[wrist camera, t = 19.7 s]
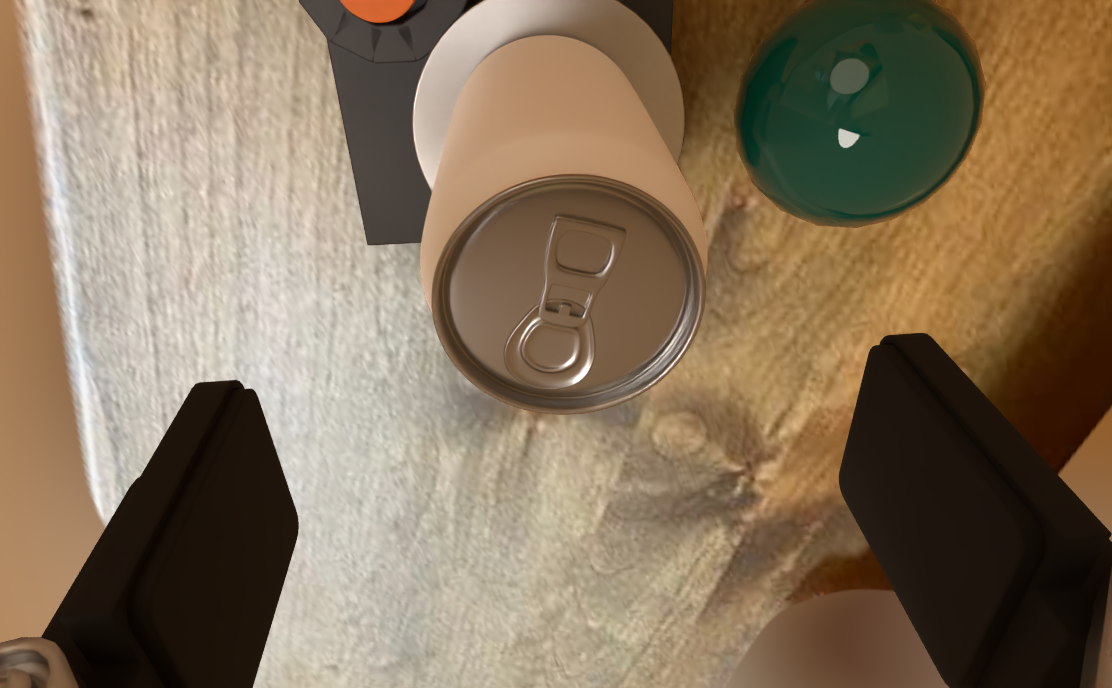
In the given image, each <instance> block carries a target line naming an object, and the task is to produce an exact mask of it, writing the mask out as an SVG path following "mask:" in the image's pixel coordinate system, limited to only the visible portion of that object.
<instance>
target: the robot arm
mask: <svg viewBox="0 0 1112 688" xmlns="http://www.w3.org/2000/svg"><path fill="white" fill-rule="evenodd" d="M839 485H840V490H841V493H842V495H843V498H844V500H845V501H846V503H847V505H848V507H849V509H850V511H851V512H852V514H853V516H854V518H855V520H856V522H857V523H858V525H859V527H860V529H861V531H862V533H863V534H864V536H865V538H866V540H867V542H868V544H869V545H870V547H871V549H872V551H873V553H874V555H875V556H876V558H877V560H878V562H879V564H880V566H881V567H882V569H883V571H884V573H885V575H886V577H887V578H888V580H889V582H890V584H891V586H892V588H893V589H894V591H895V593H896V595H897V597H898V598H899V600H900V602H901V604H902V606H903V607H904V609H905V611H906V613H907V615H908V617H909V619H910V620H911V622H912V624H913V626H914V628H915V630H916V631H917V633H918V635H919V637H920V639H921V641H922V642H923V644H924V646H925V648H926V650H927V651H928V653H929V655H930V657H931V659H932V661H933V663H934V664H935V666H936V668H937V670H938V672H939V674H940V675H941V677H942V679H943V680H944V682H945V683H946V684H947V685H948V686H949V687H950V688H1112V542H1111V541H1110V540H1109V538H1110V536H1111V532H1110V531H1109V530H1108V529H1107V528H1106V527H1105V526H1104V525H1103V524H1102V523H1101V522H1100V520H1099V519H1098V518H1097V517H1096V516H1095V515H1094V514H1093V513H1092V512H1091V511H1090V510H1089V509H1088V507H1087V506H1086V505H1085V504H1084V503H1083V502H1082V501H1081V500H1080V499H1079V498H1078V497H1077V495H1076V494H1075V493H1074V492H1073V491H1072V490H1071V489H1070V488H1069V487H1068V486H1067V485H1066V483H1065V482H1064V481H1063V480H1062V479H1061V478H1060V477H1059V476H1058V475H1057V474H1056V472H1055V471H1054V470H1053V469H1052V468H1051V467H1050V466H1049V465H1048V464H1047V463H1046V462H1045V460H1044V459H1043V458H1042V457H1041V456H1040V455H1039V454H1038V453H1037V452H1036V451H1035V450H1034V448H1033V447H1032V446H1031V445H1030V444H1029V443H1028V442H1027V441H1026V440H1025V439H1024V438H1023V436H1022V435H1021V434H1020V433H1019V432H1018V431H1017V430H1016V429H1015V428H1014V427H1013V426H1012V424H1011V423H1010V422H1009V421H1008V420H1007V419H1006V418H1005V417H1004V416H1003V415H1002V414H1001V413H1000V411H999V410H998V409H997V408H996V407H995V406H994V405H993V404H992V403H991V402H990V401H989V399H988V398H987V397H986V396H985V395H984V394H983V393H982V392H981V391H980V390H979V389H978V387H977V386H976V385H975V384H974V383H973V382H972V381H971V380H970V379H969V378H968V377H967V375H966V374H965V373H964V372H963V371H962V370H961V369H960V368H959V367H958V366H957V365H956V363H955V362H954V361H953V360H952V359H951V358H950V357H949V356H948V355H947V354H946V353H945V351H944V350H943V349H942V348H941V347H940V346H939V345H938V344H937V343H936V342H935V341H934V339H933V338H932V337H930V336H929V335H928V334H925V333H913V334H899V335H888V336H885V337H884V338H883V339H882V340H881V342H880V345H875V346H873V347H872V348H871V349H870V352H869V354H868V358H867V362H866V366H865V370H864V374H863V379H862V383H861V387H860V391H859V395H858V399H857V403H856V407H855V411H854V415H853V419H852V423H851V427H850V431H849V435H848V439H847V443H846V447H845V451H844V456H843V460H842V464H841V468H840V472H839ZM298 529H299V522H298V515H297V512H296V509H295V506H294V503H293V500H292V497H291V494H290V491H289V488H288V485H287V482H286V479H285V476H284V473H283V470H282V467H281V464H280V461H279V458H278V455H277V452H276V449H275V446H274V443H273V440H272V437H271V434H270V432H269V429H268V426H267V423H266V420H265V417H264V414H263V411H262V408H261V405H260V402H259V399H258V396H257V394H256V392H255V391H254V390H253V389H244V386H243V385H242V384H241V382H240V381H237V380H230V381H215V382H200V383H197V384H195V385H194V387H193V388H192V389H191V391H190V393H189V394H188V396H187V398H186V399H185V401H184V403H183V405H182V406H181V408H180V410H179V411H178V413H177V415H176V417H175V418H174V420H173V422H172V423H171V425H170V427H169V428H168V430H167V432H166V434H165V435H164V437H163V439H162V440H161V442H160V444H159V446H158V447H157V449H156V451H155V452H154V454H153V456H152V458H151V459H150V461H149V463H148V464H147V466H146V468H145V469H144V471H143V473H142V475H141V476H140V477H139V478H137V479H136V480H135V482H134V483H133V484H132V485H131V487H130V488H129V490H128V491H127V493H126V495H125V496H124V498H123V500H122V501H121V503H120V505H119V507H118V508H117V510H116V512H115V513H114V515H113V517H112V518H111V520H110V522H109V523H108V525H107V527H106V528H105V530H104V532H103V534H102V535H101V537H100V539H99V540H98V542H97V544H96V545H95V547H94V549H93V550H92V552H91V554H90V556H89V557H88V559H87V561H86V562H85V564H84V566H83V567H82V569H81V571H80V572H79V574H78V576H77V577H76V579H75V581H74V583H73V584H72V586H71V588H70V589H69V591H68V593H67V594H66V596H65V598H64V600H63V601H62V603H61V604H60V606H59V608H58V610H57V611H56V613H55V615H54V616H53V618H52V620H51V621H50V623H49V625H48V627H47V628H46V630H45V632H44V633H43V635H42V637H30V638H28V637H24V638H23V637H22V638H18V639H14V640H10V641H6V642H2V643H0V688H253V684H254V681H255V678H256V674H257V671H258V668H259V664H260V661H261V658H262V654H263V651H264V648H265V644H266V641H267V638H268V634H269V631H270V628H271V624H272V621H273V618H274V614H275V611H276V608H277V604H278V601H279V597H280V594H281V591H282V587H283V584H284V581H285V577H286V574H287V571H288V567H289V564H290V561H291V557H292V554H293V551H294V547H295V544H296V541H297V536H298Z"/></svg>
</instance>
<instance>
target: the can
mask: <svg viewBox="0 0 1112 688" xmlns="http://www.w3.org/2000/svg"><path fill="white" fill-rule="evenodd" d="M707 260H708V251H707V239H706V233H705V229H704V225H703V221H702V217H701V214H700V211H699V208H698V206H697V204H696V201H695V199H694V197H693V195H692V193H691V191H690V189H689V187H688V185H687V183H686V181H685V179H684V177H683V175H682V173H681V172H680V170H679V168H678V166H677V164H676V162H675V161H674V159H673V157H672V155H671V153H670V152H669V150H668V148H667V146H666V144H665V143H664V141H663V139H662V137H661V135H660V134H659V132H658V130H657V128H656V127H655V125H654V123H653V121H652V119H651V118H650V116H649V114H648V112H647V111H646V109H645V107H644V105H643V104H642V102H641V100H640V99H639V97H638V95H637V93H636V92H635V90H634V88H633V87H632V85H631V83H630V82H629V80H628V79H627V77H626V76H625V75H624V73H623V72H622V71H621V70H620V68H619V67H618V66H617V65H616V64H615V63H614V62H613V61H612V60H611V59H610V58H608V57H607V56H606V55H605V54H603V53H602V52H601V51H599V50H598V49H596V48H594V47H592V46H591V45H589V44H586V43H584V42H582V41H579V40H576V39H573V38H569V37H564V36H556V35H539V36H532V37H527V38H523V39H519V40H516V41H513V42H511V43H509V44H506V45H504V46H503V47H501V48H499V49H497V50H496V51H494V52H493V53H491V54H490V55H489V56H488V57H486V58H485V59H484V60H483V61H482V62H481V63H480V64H479V65H478V66H477V67H476V68H475V69H474V71H473V72H472V73H471V74H470V76H469V77H468V79H467V80H466V82H465V84H464V85H463V87H462V89H461V91H460V94H459V96H458V99H457V101H456V104H455V107H454V110H453V114H452V117H451V121H450V125H449V128H448V132H447V136H446V140H445V143H444V147H443V151H442V155H441V159H440V163H439V167H438V171H437V174H436V178H435V182H434V186H433V190H432V194H431V198H430V202H429V207H428V211H427V215H426V220H425V224H424V229H423V235H422V241H421V251H420V270H421V280H422V286H423V290H424V294H425V298H426V301H427V303H428V306H429V308H430V311H431V313H432V315H433V320H434V325H435V328H436V332H437V334H438V337H439V340H440V342H441V344H442V346H443V348H444V350H445V352H446V353H447V355H448V357H449V358H450V360H451V361H452V362H453V364H454V365H455V366H456V367H457V369H458V370H459V371H460V372H461V373H462V374H463V375H464V376H465V377H466V378H467V379H468V380H469V381H470V382H471V383H473V384H474V385H475V386H476V387H478V388H479V389H481V390H482V391H483V392H485V393H487V394H488V395H490V396H492V397H494V398H495V399H497V400H499V401H502V402H504V403H506V404H509V405H511V406H514V407H517V408H520V409H524V410H528V411H532V412H538V413H545V414H557V415H569V414H582V413H589V412H595V411H599V410H603V409H607V408H610V407H613V406H616V405H619V404H621V403H624V402H626V401H628V400H631V399H633V398H635V397H637V396H638V395H640V394H642V393H644V392H645V391H647V390H648V389H650V388H651V387H653V386H654V385H655V384H657V383H658V382H659V381H661V380H662V379H663V378H664V377H665V376H666V375H667V374H668V373H669V372H670V371H671V370H672V369H673V368H674V367H675V366H676V365H677V364H678V363H679V361H680V360H681V359H682V357H683V356H684V355H685V353H686V352H687V350H688V349H689V347H690V345H691V344H692V342H693V340H694V338H695V336H696V333H697V331H698V328H699V326H700V323H701V319H702V316H703V311H704V305H705V294H706V286H705V277H706V271H707Z"/></svg>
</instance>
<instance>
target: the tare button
mask: <svg viewBox="0 0 1112 688" xmlns="http://www.w3.org/2000/svg"><path fill="white" fill-rule="evenodd" d="M340 1H341V3H342V4H343V5H344V6H345V7H346V8H347V9H348V10H349V11H350V12H351V13H353V14H354V15H356V16H357V17H359V18H361V19H363V20H366V21H370V22H375V23H384V22H389V21H393V20H395V19H397V18H399V17H401V16H402V15H403V14H405V13H406V12H407V11H408V9H409V8H410V7H411V6H412V5H413V3H414V2H415V1H416V0H340Z"/></svg>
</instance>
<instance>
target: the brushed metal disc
mask: <svg viewBox="0 0 1112 688" xmlns="http://www.w3.org/2000/svg"><path fill="white" fill-rule="evenodd" d="M539 35H556V36H564V37H569V38H573V39H576V40H579V41H582V42H584V43H586V44H589V45H591V46H592V47H594V48H596V49H598V50H599V51H601V52H602V53H603V54H605V55H606V56H607V57H608V58H610V59H611V60H612V61H613V62H614V63H615V64H616V65H617V66H618V67H619V68H620V70H621V71H622V72H623V73H624V75H625V76H626V77H627V79H628V80H629V82H630V83H631V85H632V87H633V88H634V90H635V92H636V93H637V95H638V97H639V99H640V100H641V102H642V104H643V105H644V107H645V109H646V111H647V112H648V114H649V116H650V118H651V119H652V121H653V123H654V125H655V127H656V128H657V130H658V132H659V134H660V135H661V137H662V139H663V141H664V143H665V144H666V146H667V148H668V150H669V152H670V153H671V155H672V157H673V159H674V161H675V162H676V164H678V162H679V158H680V154H681V150H682V146H683V141H684V133H685V104H684V97H683V90H682V86H681V83H680V79H679V76H678V72H677V70H676V68H675V65H674V63H673V61H672V58H671V56H670V54H669V53H668V51H667V49H666V48H665V46H664V44H663V43H662V41H661V40H660V38H659V37H658V36H657V35H656V33H655V32H654V31H653V30H652V28H651V27H650V26H649V25H648V24H647V23H646V22H645V21H644V20H643V19H642V18H641V17H640V16H639V15H638V14H637V13H636V12H635V11H633V10H632V9H631V8H629V7H628V6H626V5H625V4H624V3H622V2H621V1H619V0H479V1H478V2H476V3H475V4H473V5H471V6H470V7H469V8H467V9H466V10H465V11H464V12H463V13H461V14H460V15H459V16H458V17H457V18H455V20H454V21H453V22H452V23H451V24H450V25H449V26H448V27H447V28H446V30H445V31H444V32H443V33H442V34H441V36H440V37H439V39H438V40H437V42H436V43H435V45H434V46H433V48H432V49H431V51H430V53H429V55H428V57H427V60H426V62H425V64H424V66H423V68H422V70H421V73H420V76H419V79H418V82H417V86H416V90H415V95H414V101H413V110H412V131H413V142H414V147H415V151H416V156H417V160H418V163H419V165H420V168H421V171H422V174H423V176H424V178H425V180H426V182H427V184H428V186H429V188H430V190H431V192H432V190H433V186H434V182H435V178H436V174H437V171H438V167H439V163H440V159H441V155H442V151H443V147H444V143H445V140H446V136H447V132H448V128H449V125H450V121H451V117H452V114H453V110H454V107H455V104H456V101H457V99H458V96H459V94H460V91H461V89H462V87H463V85H464V84H465V82H466V80H467V79H468V77H469V76H470V74H471V73H472V72H473V71H474V69H475V68H476V67H477V66H478V65H479V64H480V63H481V62H482V61H483V60H484V59H485V58H486V57H488V56H489V55H490V54H491V53H493V52H494V51H496V50H497V49H499V48H501V47H503V46H504V45H506V44H509V43H511V42H513V41H516V40H519V39H523V38H527V37H532V36H539Z"/></svg>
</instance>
